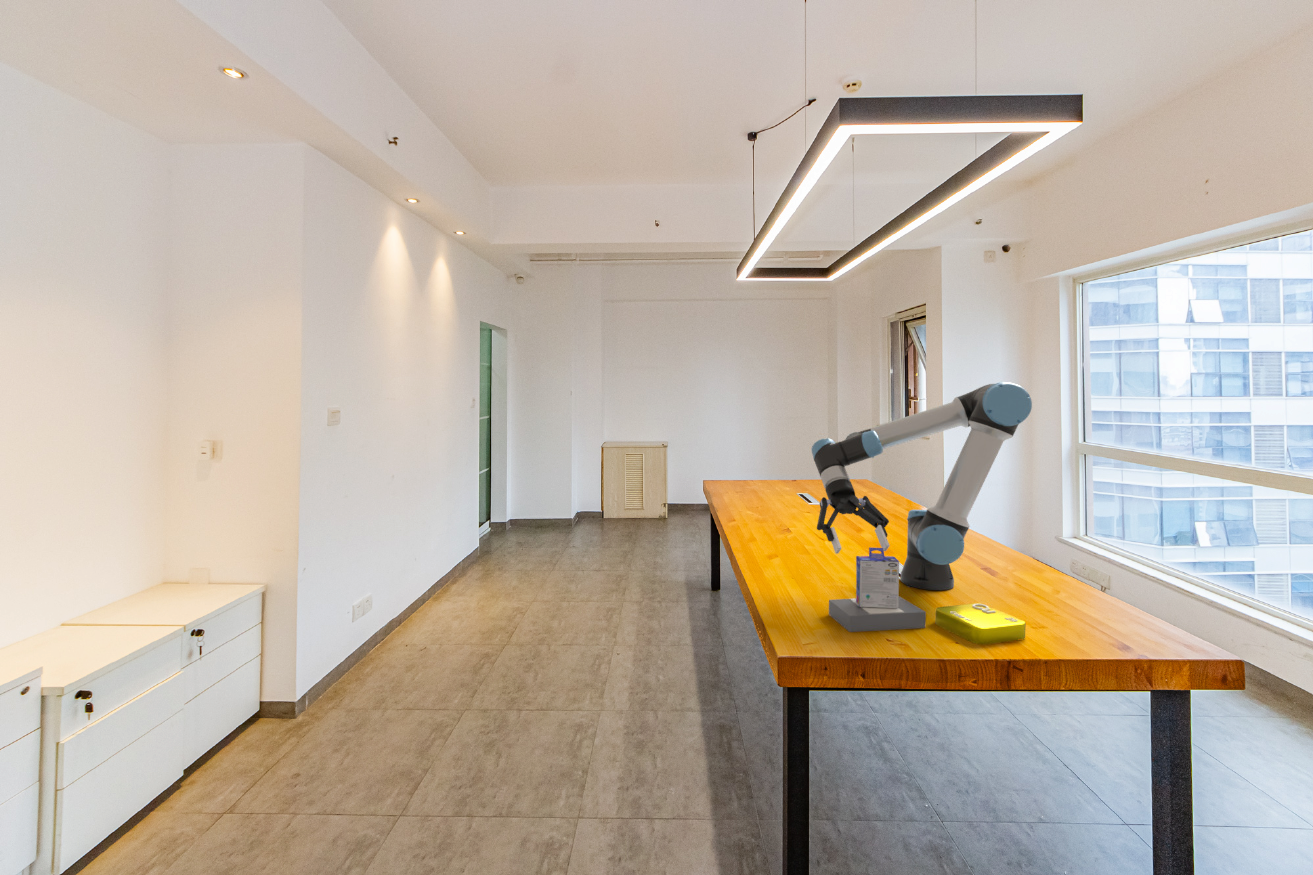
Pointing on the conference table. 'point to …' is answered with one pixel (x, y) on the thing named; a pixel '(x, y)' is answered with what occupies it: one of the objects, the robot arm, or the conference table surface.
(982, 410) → the robot arm
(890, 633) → the conference table surface
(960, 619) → the element tile
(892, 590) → the ink cartridge box
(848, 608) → the grey flat block
